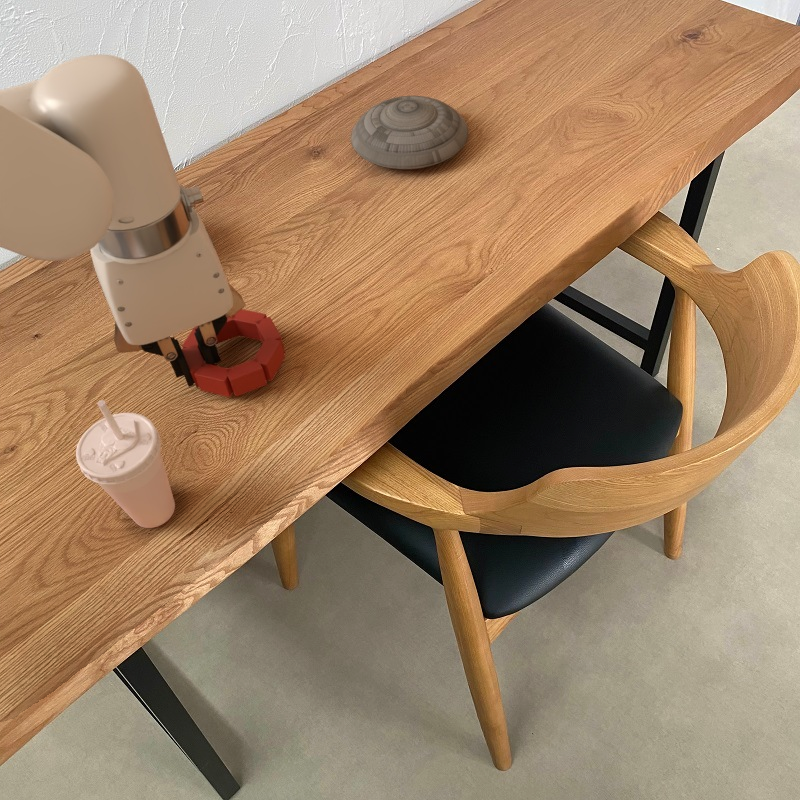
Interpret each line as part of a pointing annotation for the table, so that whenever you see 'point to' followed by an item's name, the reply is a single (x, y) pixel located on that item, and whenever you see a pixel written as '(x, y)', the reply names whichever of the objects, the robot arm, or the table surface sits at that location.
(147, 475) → the smoothie
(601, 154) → the table surface
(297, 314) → the table surface
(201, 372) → the ring top
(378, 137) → the flying saucer
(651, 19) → the table surface
